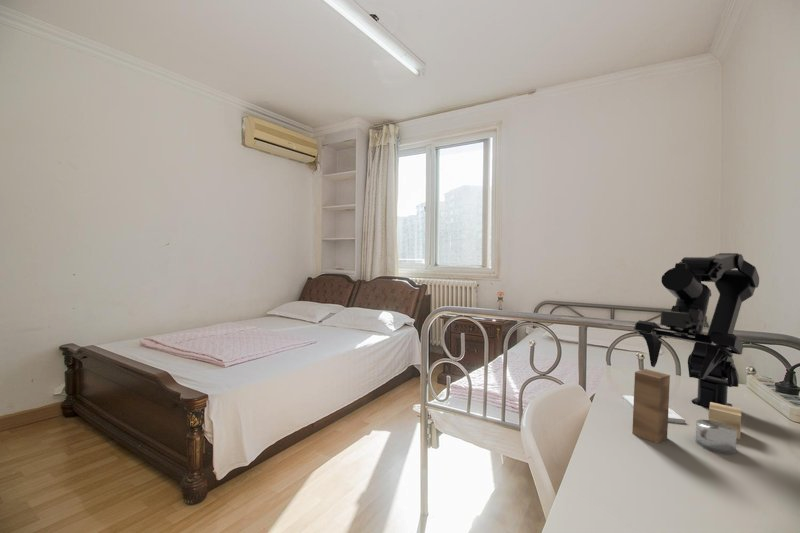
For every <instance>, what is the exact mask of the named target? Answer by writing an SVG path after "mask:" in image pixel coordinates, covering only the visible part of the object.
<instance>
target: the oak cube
mask: <svg viewBox="0 0 800 533" xmlns="http://www.w3.org/2000/svg"><path fill="white" fill-rule="evenodd" d="M708 420H711V421H715V422H719V423H723V424H725V425H728V426H730V427H732V428H734V429H735V430H736V431H737V440H741V431H742V408H739V407H735V406H732V407H731V406H726V405H722V404H717V403H713V402H710V406H709V407H708Z"/></svg>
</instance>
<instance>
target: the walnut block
mask: <svg viewBox="0 0 800 533" xmlns="http://www.w3.org/2000/svg"><path fill="white" fill-rule="evenodd" d="M670 382H671V375H670V374H667V373H664V372H660V371H655V370H652V369H648V368H643V369H640V370H637V371H634V385H633V388H634V390H633V396H634V406H633V408H632V409H633V410H632V411H633V412H632V429H631V430H632V434H633V435H634V436H638V437H640V438H643V439H646V440H648V441H650V442H653V443H656V444H658V443H661V442H662V441H664V440H665V439H667V438H668V429H669V428H668V427H669V425H668V424H669V422H668V408H670V407H669V404H670V403H669V402H670V387H671V386H670V385H671V384H670Z"/></svg>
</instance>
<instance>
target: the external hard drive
mask: <svg viewBox="0 0 800 533" xmlns="http://www.w3.org/2000/svg"><path fill="white" fill-rule="evenodd" d="M623 399H624V400H623ZM622 400H623V401H625V402H626V403H627V404H628V406H630V407H631V408H632V409H633V406H634V395H626V394H625V395H622ZM668 423H677V424H686V419H685V418H683V417H682V416H681V415H679V414H678V413H677V412H675V411H674V410H673V409H672V408H670V407H669V408H668Z"/></svg>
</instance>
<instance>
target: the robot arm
mask: <svg viewBox="0 0 800 533" xmlns="http://www.w3.org/2000/svg"><path fill="white" fill-rule="evenodd" d="M660 282H661V284H662V286H663V287H664V288H665V289H666V290H667V291H668V292H669V293H670V294H672V295H673V297H674V298H676V300H675V305H672V306H671V308H670V310H661V311H660V320H659V323H660V325H661V326H665V327H667V328H665V327H661V326H659V325H658V324H657V323H656V322H653V321H645V320H640V319H639V320H638V321H636V322H635V323H634V328H633V331H634V332H636V334H639V336H640V337H642V338H643V339H644V340H645V343H646V345H647V350H648V356H649V361H650V366H651V367H652V368H655V367H656V365H657V363H658V359H659V356H660V351H661V347H662V345H663V344H662V343H663V342H662V341H661V340H660V339H661V338H663V337H664V338H665V337H666V338H667V337H668V338H673V339H678V340H683V341H687V342H689V341H690V342H694V345H693V349H692V352H691V353H690V354H689V355H688V358H687V368H688V376H689V378H691V379H692V378H693V379H697V397H695V398H693V399H691V403H693V404H697V405H701V406H703V407H707V408H709V406H710V402H713V403H717V404H722V405H726V406H731V407H733V404H732V403H729V402H728V392H729V390H728V389H729V388H734V387H735V388H738V387H739V384H740V379H739V373H738V370H737V367H736V365H735V361H734V358H733V357H734V355H742V354H743V350H744V344H743V342H742V341H741V340H740V339H739V338H738V337H737V336H736V335H735V334H734V331H735V327H736V324H737V322H738V321H737V320H738V317H739V314H740V310H741V307H742V303H743V302H745V301H747V300H748V299H750V298H751V297H753V296H754V292H755V290H756V289H757V288H758V287H759V285H760V276H759V273H758V271H757V267H756V266H754V265H753V264H751V263H750V262H748V261H747V260H745V259H744V256H743V255H742V254H740V253H738V252H737V253H736V252H733V253H732V252H728V253H727V252H719V253H716V254H715V255H712V256H708V257H704V256H703V257H701V256H700V257H698V256H697V257H696V256H695V257H693V256H691V257H689V256H686V257H682V259H681V260H680V261H679V262H677V263H676V262H675V265H674V267H673V268H670V269H668V270H666V272H664V273H663V274H662V276H661V281H660ZM702 282H707V283H714V286H715V288H716V289H717V292H718V293H719V296H718V300H717V303H716V306H715V308H714V312H713V314H712V318H711V321H710V325H709V328H708V331H707V333H706V334H704V333H703V331H704V326H705V322H707V321H708V316H707V310H708V306H709V301H710V297H712V290H711V288H710V287H708V285H706V284H704V283H702Z"/></svg>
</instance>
